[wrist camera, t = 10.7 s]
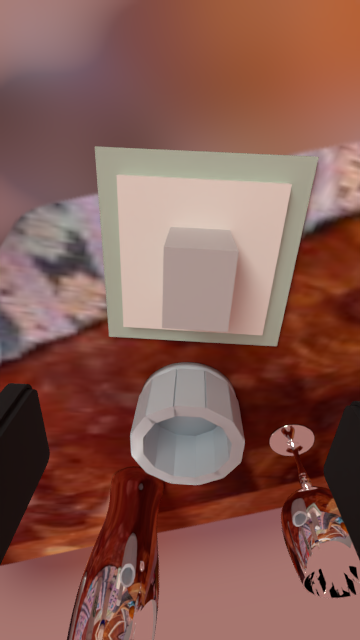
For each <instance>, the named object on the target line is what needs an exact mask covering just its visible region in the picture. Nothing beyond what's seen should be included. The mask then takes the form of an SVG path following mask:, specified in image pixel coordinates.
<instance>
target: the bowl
mask: <svg viewBox="0 0 360 640" xmlns="http://www.w3.org/2000/svg"><path fill="white" fill-rule="evenodd" d="M130 439H131V455H132V457H133V458H134V459H135V460H136V461H137V463H138V464H139V465H140V466H141V467H142V468H143V470H144V471H145V472H147V473H148V474H150V475H152V476H155V477H157V478H159V479H161V480H164V481H166V482H168V483H170V482H171V483H172V484H186V485H197V484H198V485H201V484H204V483H208V482H211V481H215V480H218V479H222V478H223V477H225V476H226V475H227V474H229V473H230V472H231V471H232V470H233V469H234V468H235V467H237V466H238V465H239V464H240V463H241V460H242V455H243V450H244V445H245V439H244V433H243V427H242V421H241V415H240V409H239V403H238V400H237V398H236V394H235V391H234V388H233V386H232V384H231V383H230V381H229V380H228V379H227V378H226V377H225V376H224V375H223V374H222V373H221V372H219V371H218V370H216V369H214V368H212V367H210V366H207V365H204V364H200V363H193V362H182V363H175V364H171V365H168V366H165V367H163V368H161V369H159V370H158V371H156V372H155V373H153V374H152V375H151V376H150V377H149V378H148V379H147V381H146V383H145V384H144V387H143V389H142V393H141V394H140V396H139V400H138V404H137V408H136V412H135V417H134V421H133V425H132V430H131V434H130Z"/></svg>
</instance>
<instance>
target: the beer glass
mask: <svg viewBox="0 0 360 640" xmlns="http://www.w3.org/2000/svg"><path fill="white" fill-rule="evenodd" d="M163 492H164V483H163V480H161V479H159V478H157V477H155V476H152V475H150V474H148V473H147V472H145V471H144V470H143V468H140V467H129V468H125V469H122V470H120V471H118V472H117V473H116V474H115V475H114V476H113V478H112V481H111V489H110V502H109V508H108V512H107V515H106V519H105V521H104V524H103V526H102V529H101V531H100V533H99V536H98V538H97V540H96V543H95V545H94V547H93V550H92V552H91V555H90V557H89V560H88V562H87V565H86V568H85V570H84V573H83V576H82V579H81V582H80V586H79V589H78V592H77V596H76V600H75V605H74V608H73V613H72V617H71V622H70V627H69V631H68V637H67V640H154V636H155V628H156V620H157V611H158V599H159V558H158V541H157V517H158V511H159V506H160V503H161V499H162V496H163Z"/></svg>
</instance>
